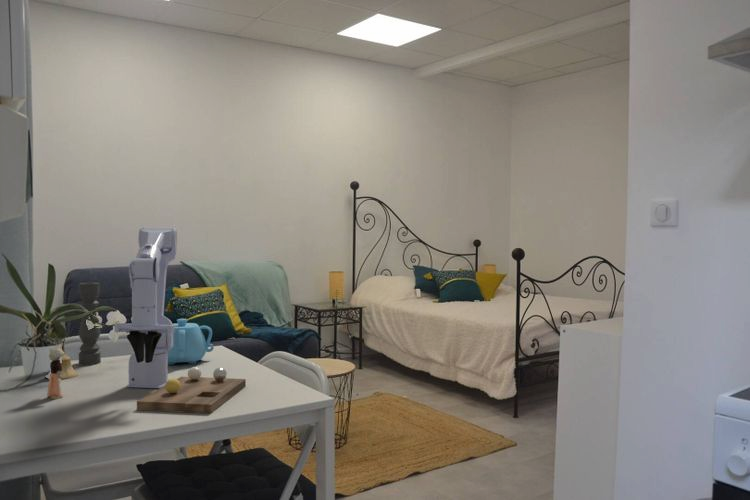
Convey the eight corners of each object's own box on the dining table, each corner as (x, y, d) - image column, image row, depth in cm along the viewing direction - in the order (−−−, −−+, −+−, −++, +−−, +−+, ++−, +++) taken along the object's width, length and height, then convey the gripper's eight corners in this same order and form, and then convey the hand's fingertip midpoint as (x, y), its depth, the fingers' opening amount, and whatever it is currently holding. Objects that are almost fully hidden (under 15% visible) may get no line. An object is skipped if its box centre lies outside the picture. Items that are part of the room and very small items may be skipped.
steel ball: (211, 382, 157) (211, 369, 157) (216, 379, 160) (216, 366, 160) (223, 382, 157) (223, 369, 156) (228, 379, 160) (228, 366, 160)
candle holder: (78, 365, 183) (77, 284, 182) (79, 361, 189) (78, 282, 188) (100, 364, 185) (100, 283, 185) (100, 360, 191) (100, 282, 190)
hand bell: (79, 377, 169) (79, 321, 168) (45, 381, 164) (45, 323, 164) (76, 371, 176) (75, 317, 175) (43, 375, 171) (43, 319, 171)
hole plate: (136, 409, 139) (136, 401, 139) (181, 383, 163) (181, 376, 163) (211, 413, 137) (211, 404, 137) (245, 386, 161) (245, 379, 161)
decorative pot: (144, 362, 189) (143, 319, 189) (186, 354, 202) (186, 314, 202) (176, 369, 180) (176, 324, 179) (218, 360, 193) (218, 318, 193)
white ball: (185, 381, 158) (185, 368, 158) (191, 378, 161) (191, 365, 161) (198, 381, 157) (198, 368, 157) (203, 378, 161) (203, 365, 161)
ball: (162, 394, 145) (162, 380, 145) (169, 390, 148) (169, 376, 148) (176, 395, 144) (176, 380, 144) (182, 391, 148) (182, 377, 148)
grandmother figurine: (41, 395, 150) (41, 345, 149) (57, 392, 153) (57, 343, 152) (53, 401, 145) (53, 349, 144) (70, 398, 148) (69, 347, 147)
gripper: (107, 308, 143) (107, 364, 144) (165, 309, 142) (165, 366, 142) (123, 304, 150) (123, 358, 151) (178, 306, 149) (178, 360, 149)
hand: (144, 361), depth 147 cm, fingers closed
